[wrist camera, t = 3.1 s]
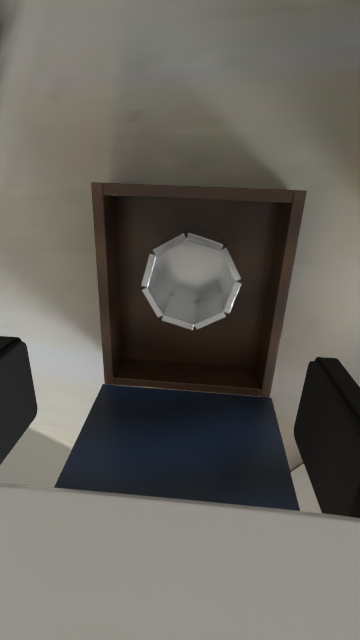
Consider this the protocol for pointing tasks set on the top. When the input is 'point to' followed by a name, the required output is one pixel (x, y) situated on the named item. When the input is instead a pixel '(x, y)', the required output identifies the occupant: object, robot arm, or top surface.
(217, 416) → the lid
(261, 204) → the brown tray
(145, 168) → the top surface
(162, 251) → the grey octagonal hollow piece
